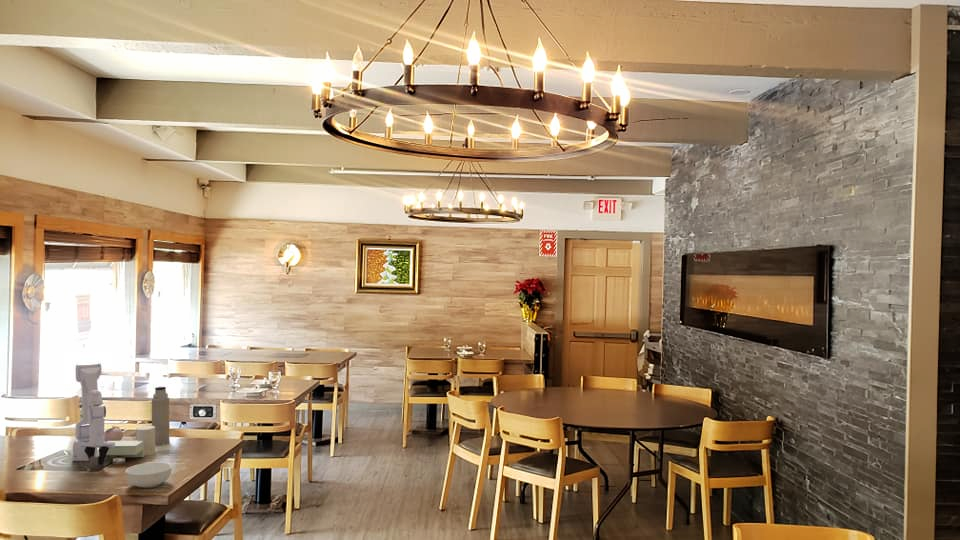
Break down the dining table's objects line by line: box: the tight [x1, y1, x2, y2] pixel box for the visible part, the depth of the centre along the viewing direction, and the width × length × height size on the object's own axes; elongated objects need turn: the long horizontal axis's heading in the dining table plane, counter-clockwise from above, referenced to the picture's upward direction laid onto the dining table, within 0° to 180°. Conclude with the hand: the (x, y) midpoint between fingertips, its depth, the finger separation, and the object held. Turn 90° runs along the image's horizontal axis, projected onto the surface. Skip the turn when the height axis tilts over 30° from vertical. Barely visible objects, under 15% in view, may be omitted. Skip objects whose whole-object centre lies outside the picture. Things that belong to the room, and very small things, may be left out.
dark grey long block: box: [89, 453, 113, 472], centre depth 313 cm, size 4×16×6 cm, turn 3°
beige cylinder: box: [135, 425, 156, 456], centre depth 334 cm, size 8×8×12 cm
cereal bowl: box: [124, 461, 173, 488], centre depth 286 cm, size 17×17×7 cm
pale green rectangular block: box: [97, 440, 145, 460], centre depth 322 cm, size 17×10×8 cm, turn 93°
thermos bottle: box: [151, 386, 170, 446], centre depth 352 cm, size 8×8×28 cm
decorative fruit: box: [104, 426, 124, 442], centre depth 346 cm, size 9×8×10 cm
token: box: [112, 456, 126, 465], centre depth 318 cm, size 5×5×2 cm
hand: (97, 463), depth 308 cm, fingers closed on dark grey long block, 3 cm apart
